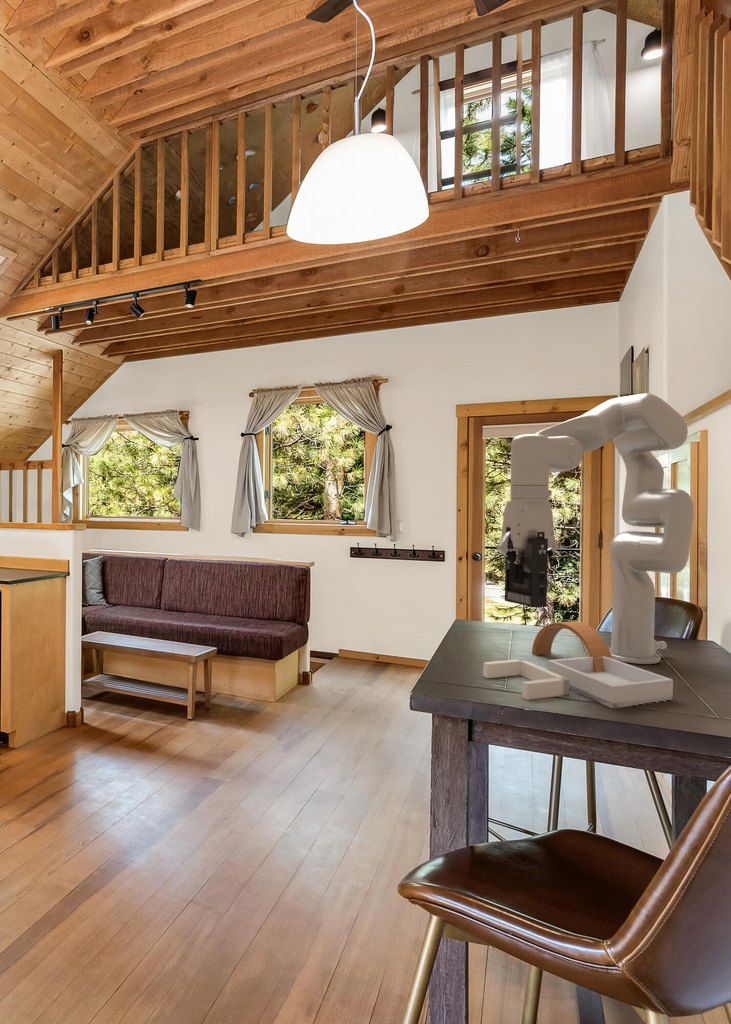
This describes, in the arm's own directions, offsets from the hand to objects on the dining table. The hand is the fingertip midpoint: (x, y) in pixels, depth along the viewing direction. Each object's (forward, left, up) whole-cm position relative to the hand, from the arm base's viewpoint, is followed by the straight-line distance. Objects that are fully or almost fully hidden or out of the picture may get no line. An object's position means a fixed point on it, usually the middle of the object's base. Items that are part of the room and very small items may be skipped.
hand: (527, 581), depth 111 cm
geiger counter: (0, 0, -5) cm, 5 cm away
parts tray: (-15, +7, -21) cm, 27 cm away
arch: (-21, -10, -22) cm, 32 cm away
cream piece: (0, 0, -21) cm, 21 cm away
